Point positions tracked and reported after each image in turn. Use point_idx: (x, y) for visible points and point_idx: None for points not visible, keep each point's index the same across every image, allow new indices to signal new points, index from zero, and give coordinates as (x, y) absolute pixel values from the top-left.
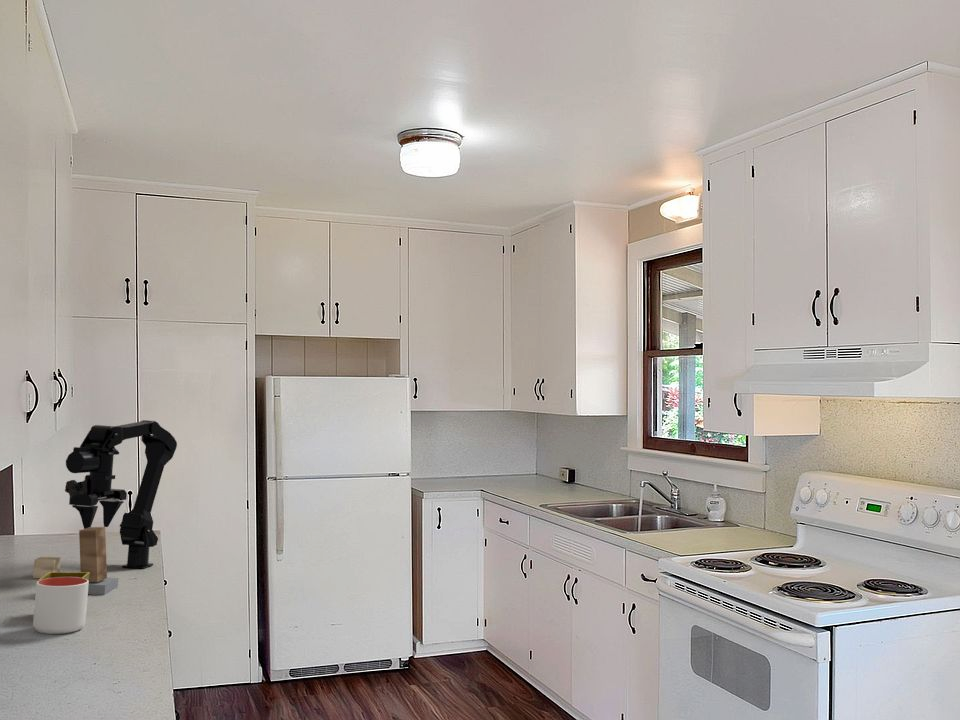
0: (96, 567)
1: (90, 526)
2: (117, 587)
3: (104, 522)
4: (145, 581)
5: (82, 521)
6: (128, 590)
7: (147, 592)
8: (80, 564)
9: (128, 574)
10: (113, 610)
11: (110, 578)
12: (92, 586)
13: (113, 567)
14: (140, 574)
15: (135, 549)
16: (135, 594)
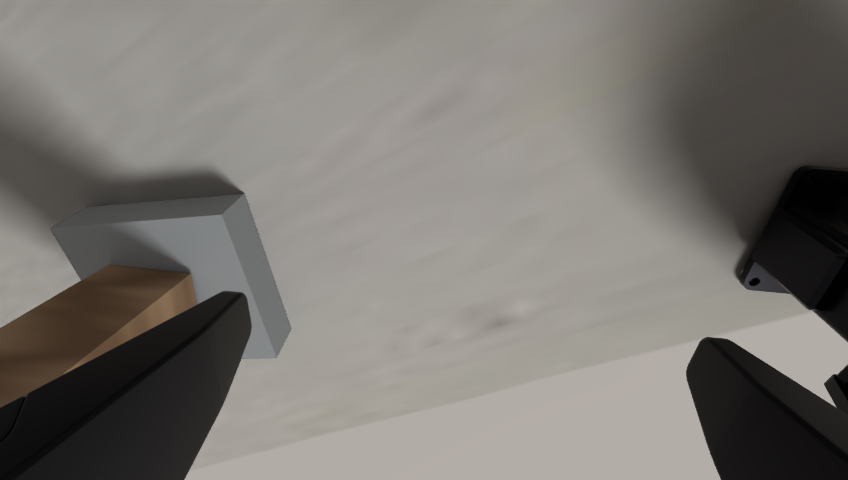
0: None
1: (214, 393)
2: (288, 329)
3: (731, 387)
4: (442, 373)
5: (81, 372)
6: (266, 373)
7: (269, 426)
8: (25, 314)
9: (584, 269)
10: None
11: (252, 335)
12: None
13: (813, 111)
14: (593, 314)
15: (845, 308)
16: (224, 407)
